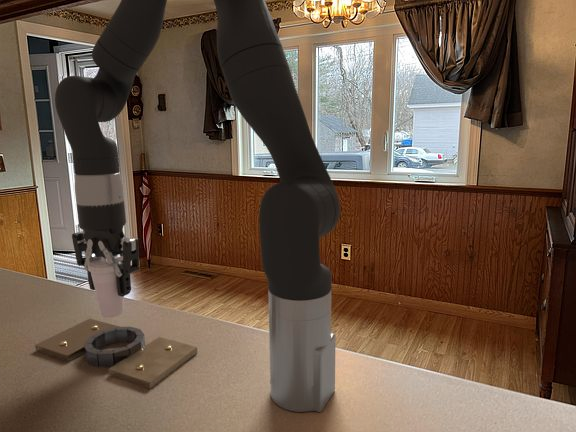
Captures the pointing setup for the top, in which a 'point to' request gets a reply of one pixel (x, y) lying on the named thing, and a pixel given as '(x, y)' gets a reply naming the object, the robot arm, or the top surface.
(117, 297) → the smoothie
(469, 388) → the top surface
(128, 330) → the hinge base
